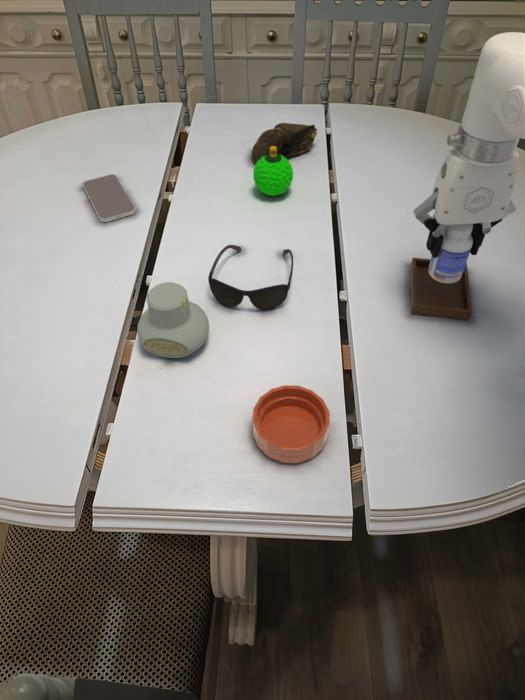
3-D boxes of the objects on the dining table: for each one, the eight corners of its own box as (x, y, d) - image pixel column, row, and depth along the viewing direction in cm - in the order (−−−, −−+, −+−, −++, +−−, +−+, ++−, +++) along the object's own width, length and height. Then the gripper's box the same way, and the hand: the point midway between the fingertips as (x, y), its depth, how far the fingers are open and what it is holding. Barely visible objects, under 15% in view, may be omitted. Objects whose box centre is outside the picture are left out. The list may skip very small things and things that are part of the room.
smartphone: (100, 220, 104) (80, 182, 112) (101, 224, 104) (81, 186, 113) (136, 209, 106) (114, 173, 114) (137, 213, 106) (115, 177, 115)
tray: (468, 320, 86) (472, 311, 84) (410, 314, 87) (413, 305, 86) (463, 271, 94) (466, 262, 92) (410, 266, 95) (412, 257, 93)
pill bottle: (468, 279, 86) (486, 230, 79) (439, 288, 85) (455, 238, 78) (448, 259, 90) (464, 210, 82) (421, 267, 88) (434, 218, 81)
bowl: (337, 417, 74) (340, 400, 71) (310, 476, 68) (312, 461, 65) (272, 393, 77) (272, 376, 74) (241, 448, 71) (239, 432, 68)
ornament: (254, 204, 108) (252, 159, 100) (253, 182, 113) (251, 137, 106) (294, 203, 108) (295, 157, 100) (291, 181, 113) (292, 136, 106)
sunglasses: (206, 307, 89) (203, 285, 85) (224, 248, 99) (222, 226, 95) (287, 315, 87) (288, 292, 84) (296, 254, 97) (297, 231, 94)
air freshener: (134, 356, 82) (120, 310, 74) (151, 318, 87) (139, 271, 80) (203, 365, 81) (195, 319, 73) (215, 326, 86) (210, 279, 78)
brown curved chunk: (263, 170, 115) (258, 138, 111) (243, 162, 122) (238, 130, 118) (325, 148, 121) (322, 116, 116) (302, 141, 127) (299, 110, 123)
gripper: (431, 160, 67) (404, 270, 81) (562, 152, 68) (514, 262, 82) (414, 131, 72) (392, 239, 86) (537, 124, 73) (495, 233, 87)
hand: (451, 250), depth 84 cm, fingers closed on pill bottle, 5 cm apart
